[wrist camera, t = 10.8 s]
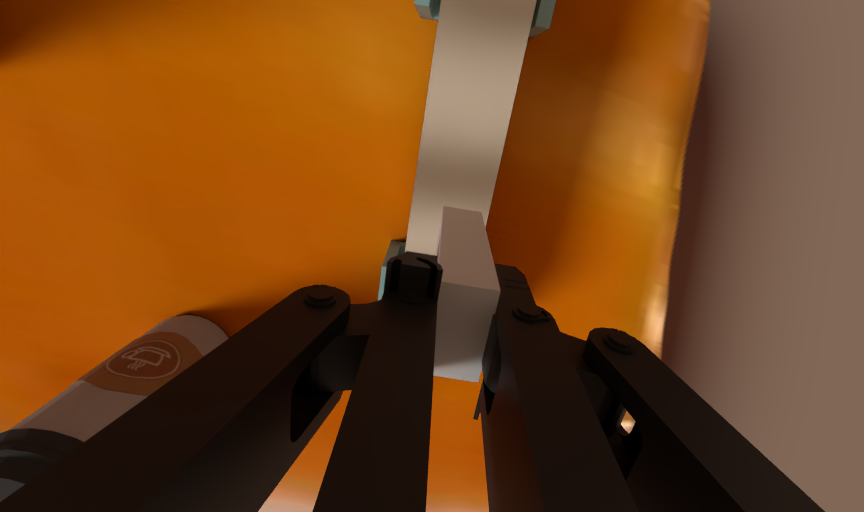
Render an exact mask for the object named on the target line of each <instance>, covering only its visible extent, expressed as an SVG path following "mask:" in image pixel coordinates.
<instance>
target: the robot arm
mask: <svg viewBox="0 0 864 512" xmlns="http://www.w3.org/2000/svg"><path fill="white" fill-rule="evenodd" d="M481 369H483V382H482V386H481V390H480V394H479V398H478V402H477V406H476V410H475V414H474V419H476V420H478V417H479V413H481V421H482V433H483V445H484V456H485V468H486V479H487V491H488V502H489V512H825V511H824V510H823V509H821V508H820V507H819V506H818V505H817V504H816V503H815V502H814V501H813V500H812V499H811V498H810V497H808V496H807V495H806V494H805V493H804V492H803V491H802V490H801V489H800V488H799V487H798V486H797V485H795V484H794V483H793V482H792V481H791V480H790V479H789V478H788V477H787V476H786V475H785V474H784V473H782V472H781V471H780V470H779V469H778V468H777V467H776V466H775V465H774V464H773V463H772V462H771V461H769V460H768V459H767V458H766V457H765V456H764V455H763V454H762V453H761V452H760V451H759V450H758V449H756V448H755V447H754V446H753V445H752V444H751V443H750V442H749V441H748V440H747V439H746V438H744V437H743V436H742V435H741V434H740V433H739V432H738V431H737V430H736V429H735V428H734V427H733V426H732V425H730V424H729V423H728V422H727V421H726V420H725V419H724V418H723V417H722V416H721V415H720V414H719V413H717V412H716V411H715V410H714V409H713V408H712V407H711V406H710V405H709V404H708V403H707V402H706V401H704V400H703V399H702V398H701V397H700V396H699V395H698V394H697V393H696V392H695V391H694V390H693V389H691V388H690V387H689V386H688V385H687V384H686V383H685V382H684V381H683V380H682V379H681V378H680V377H678V376H677V375H676V374H675V373H674V372H673V371H672V370H671V369H670V368H669V367H668V366H666V365H665V364H664V363H663V362H662V361H661V360H660V359H659V358H658V357H657V356H656V355H655V354H654V353H652V352H651V351H650V350H649V349H648V348H647V347H646V346H645V345H644V344H642V343H641V342H640V341H638V340H637V339H636V338H634V337H632V336H630V335H628V334H627V333H626V332H623V331H621V330H619V331H618V330H617V329H613V328H611V329H610V328H594V329H593V330H592V331H590V332H589V335H588V338H587V341H585V340H582V339H579V338H576V337H573V336H570V335H567V334H564V333H562V332H560V331H559V328H558V326H557V324H556V321H555V319H554V318H553V317H552V315H551V314H550V313H549V312H547V311H546V310H545V309H543V308H541V307H539V306H537V305H536V304H535V301H534V298H533V296H532V293H531V291H530V288H529V286H528V284H527V280H526V278H525V275H524V274H523V273H522V272H521V271H519V270H518V269H517V268H516V267H512V266H506V265H500V264H494V261H493V257H492V253H491V249H490V245H489V241H488V236H487V232H486V228H485V224H484V220H483V216H482V212H478V211H472V210H466V209H460V208H454V207H447V206H443V209H442V215H441V221H440V227H439V233H438V239H437V245H436V250H435V255H429V254H423V253H416V252H410V251H406V252H405V253H403V254H401V255H397V256H394V257H391V258H390V259H389V260H388V261H387V267H386V276H385V284H384V292H383V296H382V299H380V300H378V301H376V302H372V303H368V304H350V298H349V295H348V294H346V293H345V292H344V291H343V290H340V289H338V288H336V287H331V286H327V285H312V286H308V287H303V288H301V289H299V290H297V291H294V292H293V293H292V294H290V295H289V296H287V297H286V298H285V299H283V300H282V301H280V302H279V303H278V304H276V305H275V306H274V307H272V308H271V309H269V310H268V311H267V312H265V313H264V314H262V315H261V316H260V317H258V318H257V319H255V320H254V321H253V322H251V323H250V324H248V325H247V326H246V327H244V328H243V329H241V330H240V331H239V332H237V333H236V334H234V335H233V336H232V337H230V338H229V339H227V340H226V341H225V342H223V343H222V344H220V345H219V346H218V347H216V348H215V349H213V350H212V351H211V352H209V353H208V354H206V355H205V356H204V357H202V358H201V359H199V360H198V361H197V362H195V363H194V364H192V365H191V366H190V367H188V368H187V369H185V370H184V371H183V372H181V373H180V374H178V375H177V376H176V377H174V378H173V379H171V380H170V381H169V382H167V383H166V384H165V385H163V386H162V387H160V388H159V389H158V390H156V391H155V392H153V393H152V394H151V395H149V396H148V397H146V398H145V399H144V400H142V401H141V402H139V403H138V404H137V405H135V406H134V407H132V408H131V409H130V410H128V411H127V412H125V413H124V414H123V415H121V416H120V417H118V418H117V419H116V420H114V421H113V422H111V423H110V424H109V425H107V426H106V427H104V428H103V429H102V430H100V431H99V432H97V433H96V434H95V435H93V436H92V437H90V438H89V439H88V440H86V441H85V442H83V443H82V444H81V445H79V446H78V447H76V448H75V449H74V450H72V451H71V452H69V453H68V454H67V455H65V456H64V457H63V458H61V459H60V460H58V461H57V462H56V463H54V464H53V465H51V466H50V467H49V468H47V469H46V470H44V471H43V472H42V473H40V474H39V475H37V476H36V477H35V478H33V479H32V480H30V481H29V482H28V483H26V484H25V485H23V486H22V487H21V488H19V489H18V490H16V491H15V492H14V493H12V494H11V495H9V496H8V497H7V498H5V499H4V500H2V501H1V502H0V512H258V511H259V509H260V508H261V507H262V505H263V504H264V502H265V501H266V500H267V498H268V497H269V496H270V494H271V493H272V492H273V490H274V489H275V487H276V486H277V485H278V483H279V482H280V481H281V479H282V478H283V476H284V475H285V474H286V472H287V471H288V470H289V468H290V467H291V466H292V464H293V463H294V461H295V460H296V459H297V457H298V456H299V455H300V453H301V452H302V451H303V449H304V448H305V446H306V445H307V444H308V442H309V441H310V440H311V438H312V437H313V436H314V434H315V433H316V431H317V430H318V429H319V427H320V426H321V425H322V423H323V422H324V420H325V419H326V418H327V416H328V415H329V414H330V412H331V411H332V410H333V408H334V407H335V405H336V404H337V403H338V401H339V400H340V398H341V395H342V393H343V391H345V390H352V391H351V395H350V398H349V401H348V404H347V407H346V410H345V413H344V416H343V419H342V422H341V426H340V429H339V432H338V435H337V438H336V441H335V444H334V447H333V450H332V453H331V456H330V460H329V463H328V466H327V469H326V472H325V475H324V478H323V481H322V484H321V487H320V490H319V494H318V497H317V500H316V503H315V506H314V509H313V512H426V496H427V478H428V461H429V444H430V426H431V409H432V391H433V376H439V377H446V378H452V379H459V380H465V381H472V382H478V381H479V377H480V373H481ZM626 410H627V411H628V412H629V414H630V415H631V416H632V417H633V419H634V420H635V421H636V422H635V425H634V427H633V429H632V431H631V432H630V434H629V433H628V432H626V431H625V429H624V428H623V427H622V426H621V422H622V420H623V417H624V415H625V413H626Z"/></svg>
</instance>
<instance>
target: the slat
mask: <svg viewBox="0 0 864 512" xmlns="http://www.w3.org/2000/svg"><path fill="white" fill-rule="evenodd" d="M536 1H537V0H441V5H440V12H439V19H438V25H437V32H436V39H435V46H434V53H433V60H432V67H431V74H430V81H429V88H428V95H427V102H426V108H425V115H424V122H423V129H422V136H421V143H420V150H419V157H418V164H417V171H416V178H415V184H414V191H413V198H412V205H411V212H410V219H409V226H408V233H407V240H406V247H405V252H406V251H410V252H416V253H423V254H429V255H435V250H436V245H437V239H438V233H439V227H440V221H441V215H442V209H443V206H447V207H454V208H460V209H466V210H472V211H478V212H482V216H483V220H484V224H485V228H486V223H487V219H488V215H489V210H490V206H491V201H492V197H493V192H494V188H495V183H496V179H497V174H498V170H499V166H500V161H501V157H502V152H503V148H504V143H505V139H506V134H507V130H508V126H509V121H510V117H511V112H512V108H513V103H514V99H515V94H516V90H517V85H518V81H519V77H520V72H521V68H522V63H523V59H524V54H525V50H526V45H527V41H528V37H529V32H530V28H531V23H532V19H533V14H534V10H535V5H536Z"/></svg>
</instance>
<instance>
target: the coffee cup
mask: <svg viewBox="0 0 864 512" xmlns="http://www.w3.org/2000/svg"><path fill="white" fill-rule="evenodd" d="M227 339H229V338H228V337H227V335H226V334H225V333H224V331H223V330H222V329H221V328H219V327H218V326H217V325H216V324H214V323H213V322H211V321H209V320H208V319H205V318H202V317H199V316H193V315H183V316H177V317H171V318H169V319H166V320H164V321H163V322H161V323H160V324H158V325H157V326H155V327H154V328H153V329H151V330H150V331H148V332H147V333H146V334H144V335H143V336H141V337H140V338H138V339H136V340H134V341H132V342H131V343H129V344H128V345H126V346H125V347H124V348H122V349H121V350H119V351H118V352H116V353H115V354H114V355H112V356H111V357H109V358H108V359H106V360H105V361H104V362H102V363H101V364H99V365H98V366H96V367H95V368H94V369H92V370H91V371H89V372H88V373H86V374H85V375H84V376H82V377H81V378H79V379H78V380H77V381H75V382H74V383H73V384H72V385H71V386H69V387H68V389H66V390H65V391H64V392H62V393H61V394H59V395H58V396H57V397H55V398H54V399H52V400H51V401H50V402H48V403H47V404H45V405H44V406H42V407H41V408H40V409H38V410H37V411H35V412H34V413H33V414H31V415H30V416H28V417H27V418H26V419H24V420H23V421H21V422H20V423H18V424H17V425H16V426H14V427H13V428H11V429H10V430H8V431H5V432H2V433H0V502H1V501H2V500H4V499H5V498H7V497H8V496H9V495H11V494H12V493H14V492H15V491H16V490H18V489H19V488H21V487H22V486H23V485H25V484H26V483H28V482H29V481H30V480H32V479H33V478H35V477H36V476H37V475H39V474H40V473H42V472H43V471H44V470H46V469H47V468H49V467H50V466H51V465H53V464H54V463H56V462H57V461H58V460H60V459H61V458H63V457H64V456H65V455H67V454H68V453H69V452H71V451H72V450H74V449H75V448H76V447H78V446H79V445H81V444H82V443H83V442H85V441H86V440H88V439H89V438H90V437H92V436H93V435H95V434H96V433H97V432H99V431H100V430H102V429H103V428H104V427H106V426H107V425H109V424H110V423H111V422H113V421H114V420H116V419H117V418H118V417H120V416H121V415H123V414H124V413H125V412H127V411H128V410H130V409H131V408H132V407H134V406H135V405H137V404H138V403H139V402H141V401H142V400H144V399H145V398H146V397H148V396H149V395H151V394H152V393H153V392H155V391H156V390H158V389H159V388H160V387H162V386H163V385H165V384H166V383H167V382H169V381H170V380H171V379H173V378H174V377H176V376H177V375H178V374H180V373H181V372H183V371H184V370H185V369H187V368H188V367H190V366H191V365H192V364H194V363H195V362H197V361H198V360H199V359H201V358H202V357H204V356H205V355H206V354H208V353H209V352H211V351H212V350H213V349H215V348H216V347H218V346H219V345H220V344H222V343H223V342H225V341H226V340H227Z"/></svg>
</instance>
